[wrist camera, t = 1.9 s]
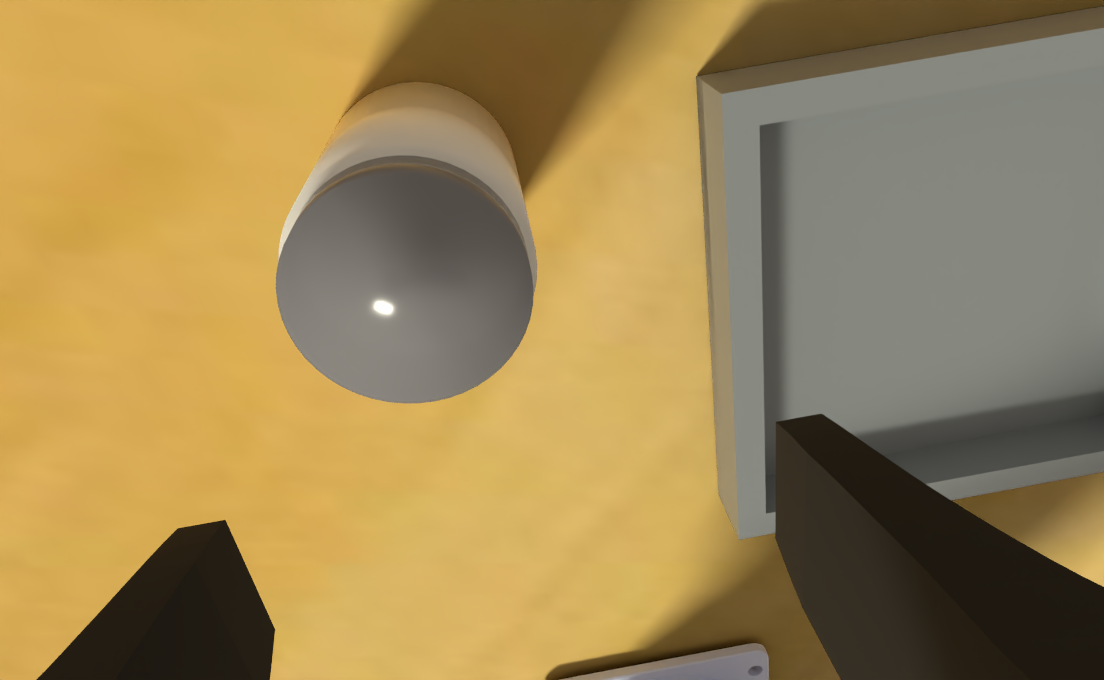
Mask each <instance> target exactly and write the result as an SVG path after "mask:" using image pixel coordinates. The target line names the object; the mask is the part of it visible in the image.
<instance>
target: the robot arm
mask: <svg viewBox="0 0 1104 680" xmlns="http://www.w3.org/2000/svg"><path fill="white" fill-rule="evenodd" d="M775 538H776V541H777V543H778V546H779V549H780V551H781V554H782V557H783V559H784V562H785V564H786V567H787V570H788V572H789V575H790V578H791V580H792V582H793V585H794V587H795V590H796V592H797V595H798V597H799V600H800V602H801V605H802V607H803V609H804V611H805V613H806V615H807V617H808V619H809V621H810V623H811V624H812V626H813V628H814V630H815V632H816V634H817V636H818V638H819V639H820V641H821V643H822V645H823V647H824V649H825V651H826V652H827V654H828V656H829V658H830V660H831V662H832V664H833V666H834V667H835V669H836V671H837V673H838V675H839V677H840V678H841V680H1104V587H1102V586H1100V585H1098V584H1096V583H1094V582H1092V581H1090V580H1088V579H1086V578H1084V577H1082V576H1081V575H1079V574H1077V573H1075V572H1073V571H1071V570H1069V569H1067V568H1066V567H1064V566H1062V565H1060V564H1058V563H1056V562H1054V561H1052V560H1051V559H1049V558H1047V557H1045V556H1044V555H1042V554H1040V553H1038V552H1037V551H1035V550H1033V549H1031V548H1030V547H1028V546H1026V545H1024V544H1023V543H1021V542H1019V541H1017V540H1016V539H1014V538H1012V537H1010V536H1009V535H1007V534H1005V533H1004V532H1002V531H1000V530H998V529H997V528H995V527H993V526H992V525H990V524H988V523H987V522H985V521H983V520H982V519H980V518H978V517H977V516H975V515H974V514H972V513H970V512H969V511H967V510H965V509H964V508H962V507H961V506H959V505H957V504H956V503H954V502H953V501H951V500H949V499H948V498H946V497H945V496H943V495H942V494H940V493H939V492H937V491H936V490H934V489H932V488H931V487H929V486H928V485H926V484H925V483H923V482H922V481H920V480H919V479H917V478H916V477H914V476H913V475H911V474H910V473H908V472H907V471H905V470H904V469H902V468H901V467H899V466H898V465H896V464H895V463H893V462H892V461H891V460H889V459H888V458H886V457H885V456H883V455H882V454H880V453H879V452H877V451H876V450H874V449H873V448H872V447H870V446H869V445H867V444H866V443H864V442H863V441H861V440H860V439H858V438H857V437H856V436H854V435H853V434H851V433H850V432H848V431H847V430H845V429H844V428H843V427H841V426H840V425H838V424H837V423H835V422H834V421H832V420H831V419H829V418H828V417H826V416H825V415H823V414H816V415H811V416H805V417H799V418H794V419H788V420H783V421H777V422H776V518H775ZM274 634H275V628H274V626H273V624H272V622H271V620H270V617H269V615H268V613H267V611H266V609H265V606H264V604H263V602H262V600H261V598H260V595H259V593H258V591H257V589H256V587H255V584H254V582H253V580H252V578H251V576H250V573H249V571H248V569H247V567H246V565H245V562H244V560H243V558H242V556H241V554H240V551H239V549H238V547H237V545H236V543H235V540H234V538H233V536H232V534H231V532H230V529H229V527H228V525H227V523H226V521H225V520H223V521H217V522H211V523H206V524H200V525H195V526H189V527H183V528H178V529H177V530H176V531H175V532H174V533H173V534H172V535H171V536H170V537H169V538H168V539H167V540H166V541H165V542H164V543H163V544H162V545H161V546H160V547H159V548H158V549H157V550H156V551H155V552H154V554H153V555H152V556H151V557H150V558H149V559H148V560H147V561H146V562H145V563H144V564H143V565H142V566H141V568H140V569H139V570H138V571H137V572H136V573H135V574H134V575H133V576H132V577H131V579H130V580H129V581H128V582H127V583H126V584H125V585H124V586H123V587H122V588H121V590H120V591H119V592H118V593H117V594H116V595H115V596H114V597H113V598H112V599H111V601H110V602H109V603H108V604H107V605H106V606H105V607H104V608H103V609H102V610H101V611H100V613H99V614H98V615H97V616H96V617H95V618H94V619H93V620H92V621H91V622H90V623H89V624H88V625H87V627H86V628H85V629H84V630H83V631H82V632H81V633H80V634H79V635H78V636H77V637H76V638H75V640H74V641H73V642H72V643H71V644H70V645H69V646H68V647H67V648H66V649H65V650H64V651H63V652H62V654H61V655H60V656H59V657H58V658H57V659H56V660H55V661H54V662H53V663H52V664H51V665H50V666H49V667H48V669H47V670H46V671H45V672H44V673H43V674H42V675H41V676H40V677H39V678H38V679H37V680H270V673H271V663H272V653H273V643H274ZM560 680H769V657H768V654H767V652H766V649H765V647H764V646H763V645H762V644H758V643H750V644H745V645H739V646H734V647H729V648H723V649H718V650H713V651H708V652H702V653H697V654H692V655H686V656H681V657H676V658H671V659H665V660H660V661H655V662H650V663H644V664H639V665H634V666H628V667H623V668H618V669H613V670H607V671H602V672H597V673H591V674H586V675H581V676H576V677H570V678H565V679H560Z"/></svg>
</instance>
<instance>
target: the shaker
mask: <svg viewBox="0 0 1104 680" xmlns="http://www.w3.org/2000/svg"><path fill="white" fill-rule="evenodd" d="M536 280H537V259H536V250H535V246H534V241H533V237H532V232H531V228H530V224H529V219H528V215H527V211H526V206H525V202H524V198H523V193H522V189H521V185H520V180H519V176H518V172H517V167H516V163H515V159H514V155H513V151H512V148H511V146H510V143H509V141H508V139H507V137H506V135H505V133H504V131H503V129H502V128H501V126H500V125H499V124H498V122H497V121H496V120H495V118H494V117H493V116H492V115H491V114H490V113H489V112H488V111H487V110H486V109H485V108H484V107H483V106H481V105H480V104H479V103H478V102H476V101H475V100H474V99H472V98H470V97H469V96H467V95H465V94H464V93H461V92H459V91H457V90H455V89H453V88H450V87H446V86H443V85H440V84H434V83H428V82H406V83H398V84H394V85H390V86H386V87H384V88H381V89H379V90H376V91H374V92H372V93H371V94H369V95H367V96H365V97H364V98H362V99H361V100H360V101H358V102H357V103H356V104H355V105H353V106H352V107H351V108H350V110H349V111H348V112H347V113H346V114H345V115H344V116H343V118H342V119H341V120H340V122H339V123H338V125H337V126H336V128H335V130H334V132H333V134H332V135H331V137H330V139H329V141H328V143H327V145H326V146H325V148H324V150H323V152H322V154H321V156H320V157H319V159H318V161H317V163H316V165H315V166H314V168H313V170H312V172H311V174H310V176H309V177H308V179H307V181H306V183H305V185H304V186H303V188H302V190H301V192H300V194H299V196H298V197H297V199H296V201H295V203H294V205H293V207H292V209H291V211H290V212H289V214H288V216H287V219H286V222H285V225H284V227H283V230H282V234H281V239H280V245H279V262H278V267H277V273H276V293H277V301H278V307H279V310H280V314H281V317H282V320H283V323H284V325H285V327H286V330H287V332H288V334H289V336H290V337H291V339H292V341H293V342H294V344H295V346H296V347H297V348H298V350H299V351H300V352H301V353H302V355H303V356H304V357H305V358H306V359H307V360H308V361H309V362H310V363H311V364H312V365H313V366H314V367H315V368H316V369H317V370H318V371H319V372H321V373H322V374H323V375H325V376H326V377H327V378H329V379H330V380H332V381H333V382H335V383H337V384H338V385H340V386H342V387H344V388H346V389H348V390H350V391H352V392H355V393H357V394H360V395H363V396H366V397H369V398H372V399H377V400H382V401H386V402H395V403H424V402H432V401H438V400H442V399H446V398H450V397H453V396H456V395H458V394H461V393H464V392H466V391H468V390H470V389H472V388H474V387H476V386H478V385H479V384H481V383H482V382H484V381H485V380H487V379H488V378H490V377H491V376H492V375H493V374H495V373H496V372H497V371H498V370H499V369H500V368H501V367H502V366H503V365H504V364H505V363H506V362H507V361H508V360H509V359H510V357H511V356H512V355H513V353H514V352H515V350H516V349H517V347H518V346H519V344H520V342H521V340H522V338H523V336H524V334H525V332H526V329H527V326H528V324H529V321H530V317H531V312H532V306H533V296H534V291H535V286H536Z"/></svg>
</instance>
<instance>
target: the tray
mask: <svg viewBox="0 0 1104 680" xmlns="http://www.w3.org/2000/svg"><path fill="white" fill-rule="evenodd" d="M696 82H697V100H698V119H699V138H700V156H701V175H702V193H703V212H704V230H705V249H706V267H707V286H708V304H709V323H710V342H711V360H712V379H713V397H714V416H715V434H716V453H717V471H718V490H719V496H720V499H721V501H722V503H723V505H724V508H725V510H726V512H727V514H728V517H729V519H730V521H731V523H732V525H733V528H734V530H735V532H736V534H737V537H738V539H739V540H741V539H746V538H752V537H757V536H763V535H768V534H773V533H775V518H776V422H777V421H783V420H788V419H794V418H799V417H805V416H811V415H816V414H823V415H825V416H826V417H828V418H829V419H831V420H832V421H834V422H835V423H837V424H838V425H840V426H841V427H843V428H844V429H845V430H847V431H848V432H850V433H851V434H853V435H854V436H856V437H857V438H858V439H860V440H861V441H863V442H864V443H866V444H867V445H869V446H870V447H872V448H873V449H874V450H876V451H877V452H879V453H880V454H882V455H883V456H885V457H886V458H888V459H889V460H891V461H892V462H893V463H895V464H896V465H898V466H899V467H901V468H902V469H904V470H905V471H907V472H908V473H910V474H911V475H913V476H914V477H916V478H917V479H919V480H920V481H922V482H923V483H925V484H926V485H928V486H929V487H931V488H932V489H934V490H936V491H937V492H939V493H940V494H942V495H943V496H945V497H946V498H948V499H949V500H956V499H961V498H967V497H972V496H977V495H983V494H988V493H993V492H999V491H1004V490H1010V489H1015V488H1020V487H1026V486H1031V485H1036V484H1042V483H1047V482H1052V481H1058V480H1063V479H1069V478H1074V477H1079V476H1085V475H1090V474H1095V473H1101V472H1104V6H1101V7H1095V8H1089V9H1083V10H1077V11H1072V12H1066V13H1060V14H1054V15H1048V16H1043V17H1037V18H1031V19H1025V20H1019V21H1014V22H1008V23H1002V24H996V25H991V26H985V27H979V28H973V29H967V30H962V31H956V32H950V33H944V34H938V35H933V36H927V37H921V38H915V39H909V40H904V41H898V42H892V43H886V44H880V45H875V46H869V47H863V48H857V49H851V50H846V51H840V52H834V53H828V54H822V55H817V56H811V57H805V58H799V59H793V60H788V61H782V62H776V63H770V64H765V65H759V66H753V67H747V68H741V69H736V70H730V71H724V72H718V73H712V74H707V75H701V76H696Z"/></svg>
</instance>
